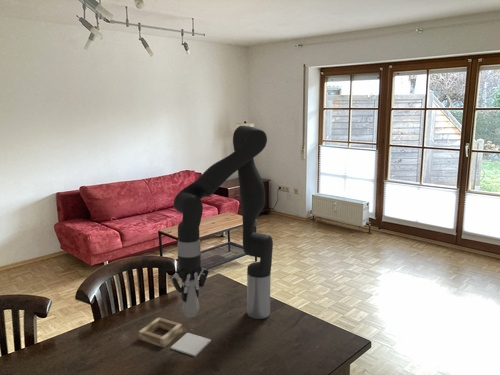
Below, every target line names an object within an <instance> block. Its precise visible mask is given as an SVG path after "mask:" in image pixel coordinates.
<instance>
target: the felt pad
mask: <svg viewBox="0 0 500 375" xmlns="http://www.w3.org/2000/svg"><path fill="white" fill-rule="evenodd" d="M211 342H212V339H210V338H207V337H205V336H204V337H203V336H200V335H198V334H194V333H190V332H186V333H185V334H184V335H182V337H180V339H179V340H177V341H176V342H175V343H174V344H172V345H171V346H170V349H171V350H174V351H176V352H179V353H183V354H186V355H189V356H192V357H197V356H198V355H199V354H200V353H201V352H202V351H203V350H204V349H205V348H206V346H208V345H209V343H211Z"/></svg>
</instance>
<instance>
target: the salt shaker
mask: <svg viewBox="0 0 500 375" xmlns="http://www.w3.org/2000/svg"><path fill="white" fill-rule="evenodd" d="M184 283H185V282H184ZM195 286H196V281H195V280H190V281H189V284H188V289H187V293H188V295H187V300H186V302H184V301H183V300H182V307H181V311H182V312H183V314H184V316H185V317H186V318H194V317H196V316H197V315H198V312H199V310H200V304H199V297H198V298H197V295H196V288H195Z"/></svg>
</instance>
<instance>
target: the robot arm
mask: <svg viewBox="0 0 500 375" xmlns="http://www.w3.org/2000/svg"><path fill="white" fill-rule="evenodd" d="M266 133H267V132H265V130H263V129H261V128H259V127H254V126H250V125H239V126H238V127H236V129H235V130H234V132H233V135H232V145H233V146H232V147H233V150H234V151H233V152H232V153H230V154H229V155H227V156H225V157H224V158H221V160H218V161H216V162H215V163H213V164H212V165H211V166H209V167H208V168H207V169H205V171H204V172H203V173H202V174H201V175H200V176H199V177H198V178H197V179H196V180H195V181H193V182H191V183H190V184H188V185H187V186H185V187H184V188H183V189H182V190H180V191H179V192H178V193H177V194H176V196H175V197H174V199H173V200H174V201H173V208H174V209H175V210H176V211H177V212H178V213H180V214H182V219H181V220H182V221H180V222H179V224H178V225H177V250H176V253H177V268H178V270H177V272H176V274H175V275H170V276H169V279H170V281H171V283H172V284H173V285H172V286H174V289H175V290H176V291H177V292H178V293H181V301H182V302H183V301H184V302H186V300H187V295H188V293H187V289H188V284H189V281H190V280H195V281H196V286H195V288H196V295H197V298H198V299H199V296H200V295H199V293H200V291H199V290H200V289H201V288H203V287H204V286H205V284H206V281H207V277H208V275H209V273H210V270H208V269H207V268H205V267H202V266H201V264H202V258H201V256H202V254H201V250H202V249H201V240H200V239H201V238H200V225H201V223H202V222H201V221H202V216H203V210H204V209H203V208H204V206H203V202H202V199H203V198H204V197H210V196H213V194H215V192H216V191H217V190H218V189H219V188H220V187H221V186H222V185H223V184H224V183H225V182H226V181H227V180H228V179H229V178H230V177H231V176H232V175H234V173H236V172H237V175H238V176H237V177H238V182H239V185H238V186H239V198H240V206H241V215H242V249H243V252H244V254H245V255H246V256H249V257H255V258H258V259H259V258H260V259H259V261H256V262H251V263H250V264H248V265H247V270H246V271H247V274H246V282H247V283H246V286H247V290H246V295H247V296H246V302H247V303H246V314H247V316H248V317H249V318H252V319H256V320H261V319H266V318H268V317H269V316H270V314H271V279H272V278H271V273H272V272H271V271H272V266H273V265H272V263H273V248H274V242H273V241H274V240H273V237H272V236H271V235H270V234H265V233H259V232H256V230H255V225H256V220H257V219H258V218H259V216H260V214H261V213H262V212H263V209H264V208H265V205H266V191H265V184H264V182H263V179H262V177H261V174H260V173H259V171H258V169H257V166H256V163H255V160H254V159H255V158H256V156H258V155H260V153H262V152H263V150H264V149H265V148H266V146H267V142H268V136H267V134H266ZM179 278H180V280H179ZM179 281H180V283H181V284H179ZM184 282H185V283H184Z"/></svg>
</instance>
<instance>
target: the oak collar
mask: <svg viewBox="0 0 500 375" xmlns="http://www.w3.org/2000/svg"><path fill="white" fill-rule="evenodd" d="M159 328H160V329H163V330H167V331H168V332H166V333H165V334H164V335H159V334H156V333H154V332H155V331H156V330H158V329H159ZM183 329H184V328H183V324H182V323H180V322H176V321H172V320H169V319H166V318H162V317H159V316H158V317H157V318H155V319H154V320H153V321H151V322H150V323H149V324H147V325H146V326H145V327H143V328H141V329H140V330H139V331H138V340H140V341H143V342H146V343H148V344H152V345H153V346H158V347H161V348H165V347H167V345H169V344H170V343H171V342H172V341H174V339H176V338H177V337H178V336H180V335H181V333H183V331H184V330H183Z"/></svg>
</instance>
